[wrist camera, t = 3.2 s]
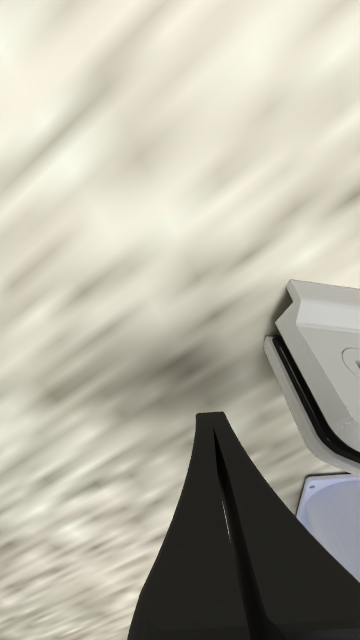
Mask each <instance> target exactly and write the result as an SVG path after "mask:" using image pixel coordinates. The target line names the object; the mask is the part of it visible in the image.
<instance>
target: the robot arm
mask: <svg viewBox="0 0 360 640" xmlns="http://www.w3.org/2000/svg"><path fill="white" fill-rule="evenodd" d="M221 497H222V498H221ZM222 501H223V503H222ZM223 506H224V508H223ZM224 510H225V513H224ZM225 515H226V519H227V524H226V519H225ZM227 525H228V529H227ZM228 530H229V534H228ZM229 536H230V539H229ZM230 543H231V544H230ZM127 640H360V477H359V476H357V475H354V474H343V475H328V476H313V477H309V478H307V479H306V482H305V486H304V489H303V493H302V497H301V500H300V504H299V508H298V512H297V515H296V517H295V515H294V514H293V513H292V512H291V511H290V510H289V509H288V508H287V506H286V505H285V504H284V503H283V502H282V500H281V499H280V498H279V497H278V496H277V494H276V493H275V492H274V491H273V489H272V488H271V487H270V485H269V484H268V483H267V482H266V480H265V479H264V478H263V476H262V475H261V473H260V472H259V471H258V469H257V468H256V466H255V465H254V463H253V462H252V461H251V459H250V458H249V456H248V455H247V453H246V451H245V450H244V448H243V447H242V445H241V443H240V442H239V440H238V438H237V437H236V435H235V433H234V431H233V430H232V428H231V426H230V424H229V422H228V420H227V417H226V415H225V413H224V412H209V413H198V414H197V415H196V431H195V439H194V444H193V450H192V455H191V460H190V464H189V468H188V472H187V476H186V479H185V483H184V486H183V489H182V492H181V496H180V499H179V502H178V505H177V507H176V510H175V513H174V516H173V519H172V521H171V524H170V527H169V529H168V532H167V534H166V536H165V539H164V541H163V544H162V546H161V548H160V551H159V553H158V556H157V558H156V560H155V562H154V565H153V567H152V569H151V571H150V573H149V575H148V577H147V580H146V582H145V584H144V586H143V588H142V590H141V593H140V595H139V599H138V602H137V605H136V609H135V612H134V615H133V618H132V622H131V626H130V629H129V634H128V638H127Z"/></svg>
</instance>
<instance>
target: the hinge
mask: <svg viewBox="0 0 360 640" xmlns="http://www.w3.org/2000/svg"><path fill="white" fill-rule="evenodd" d="M286 288H287V290H288V292H289V294H290V296H291V298H292V300H293V303H292V304H291V305H290V306H289V307H288V308H287V309H286V311H285V312H284V313H283V314H282V315H281V316H280V317H279V318H278V320H277V321H276V322H275V324H276V326H277V328H278V332H279V334H280V336H274V337H269V336H266V339H265V342H264V351H265V353H266V355H267V358H268V360H269V362H270V365H271V367H272V369H273V371H274V374H275V376H276V378H277V381H278V383H279V385H280V387H281V390H282V392H283V394H284V397H285V399H286V401H287V404H288V406H289V408H290V410H291V413H292V415H293V417H294V420H295V422H296V424H297V426H298V429H299V431H300V433H301V436H302V438H303V440H304V442H305V444H306V446H307V447H308V449H309V450H310V451H311V452H312V453H313V454H314V455H315V456H316V457H317V458H319V459H320V460H322V461H324V462H327V463H329V464H331V465H333V466H335V467H337V468H340V469H342V470H344V471H346V472H349V473H351V474H354V475H357V476H359V477H360V289H356V288H348V287H341V286H334V285H326V284H319V283H312V282H304V281H297V280H290V281H289V283H288V284H287V286H286Z"/></svg>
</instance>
